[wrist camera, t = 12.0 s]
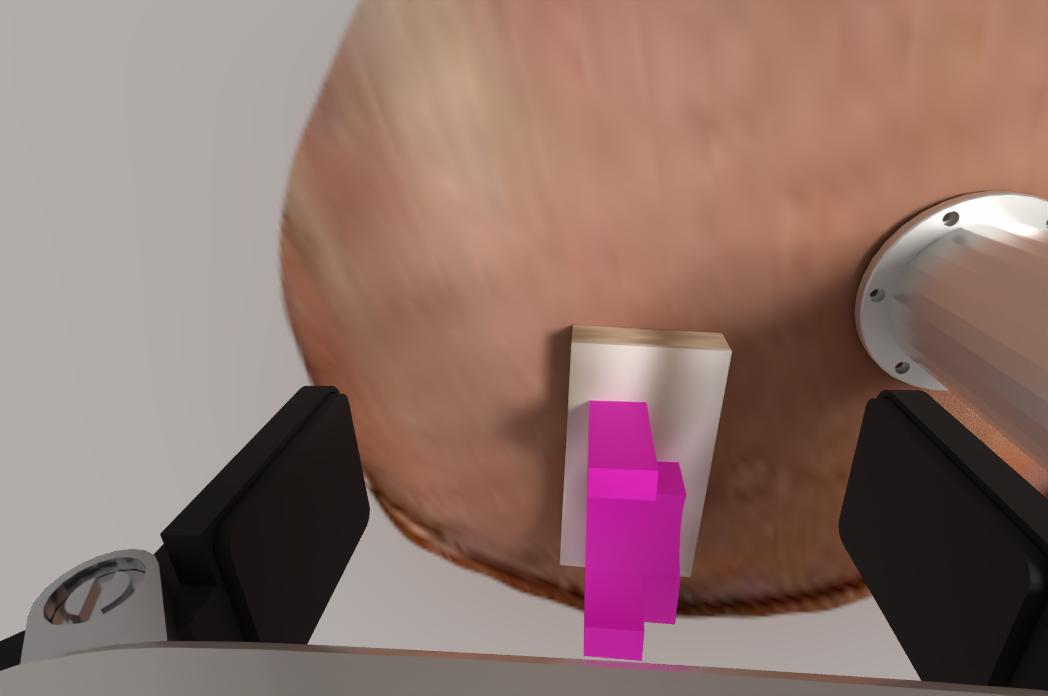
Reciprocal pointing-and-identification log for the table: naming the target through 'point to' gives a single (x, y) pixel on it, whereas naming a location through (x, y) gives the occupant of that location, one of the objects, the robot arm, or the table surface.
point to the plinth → (673, 406)
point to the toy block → (628, 531)
